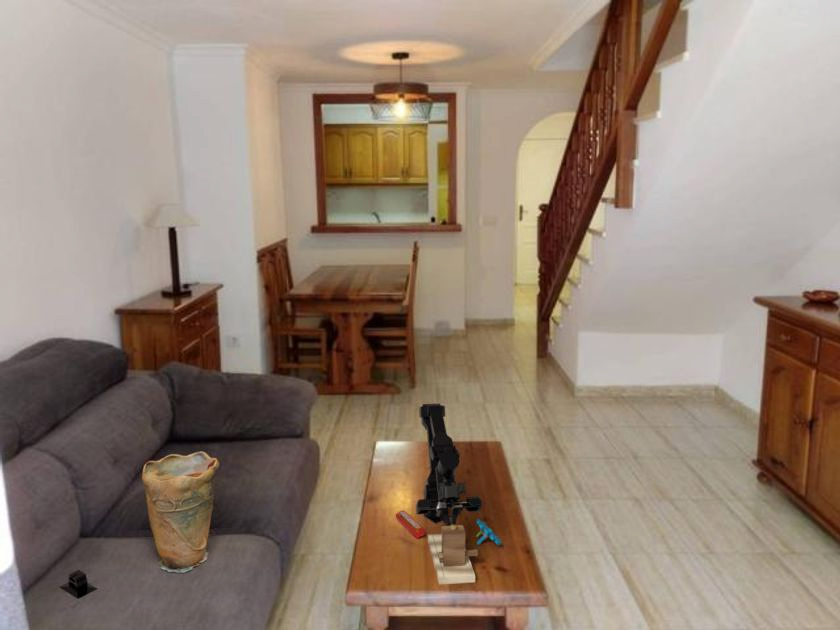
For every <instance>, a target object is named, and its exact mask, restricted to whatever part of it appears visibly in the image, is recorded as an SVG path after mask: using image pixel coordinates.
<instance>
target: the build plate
mask: <svg viewBox="0 0 840 630" xmlns="http://www.w3.org/2000/svg"><path fill="white" fill-rule="evenodd" d="M67 576H68V578H67V579H68V580H67V581H68V582H65V583H63V584H62V585H60V586H59V588H60V589H61V590H63V591H64V592H66V593H68V594H70V595H71V596H72V597H74V598H76V599H77V600H79V599H82V598H83V597H85V596H87V595H88V594H89V595H90V594H91V593H92V592H95V591H97V590H98V588H97V587H95V586H94V585H92V584H91V583H89V582H88V578H87V573H85V572H83V571H81V570H79V569H77V570H76V571H72V572H70V573H69V574H68V575H67Z"/></svg>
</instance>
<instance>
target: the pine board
mask: <svg viewBox="0 0 840 630" xmlns="http://www.w3.org/2000/svg"><path fill="white" fill-rule="evenodd" d="M427 543H428V547H429V550H430V555H431V558H432V563H433V566H434V570H435V573H436V578H437V581H438V584H439V586H440V585H451V584H453V585H454V584H455V585H456V584H468V583H476V574H475V570H474V569H473V564H472V562H471V560H470V556H466V557H465V565H455V566H443V562H442V561H441V563H440V562H439V559H440V558H439V552H442V533H437V534H436V533H435V534H427ZM465 550H467V549H466V547H465Z"/></svg>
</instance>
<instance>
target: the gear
mask: <svg viewBox="0 0 840 630" xmlns="http://www.w3.org/2000/svg"><path fill="white" fill-rule="evenodd" d="M476 525H478V526H479V530H480V531H478V533H477V534H476V535H475V537H477V538H479V536H481V535H483V536H481V537H480V538H479V540H478V541H476V544H477V545H478V546H480V545H481V543H483V542H484V540H486V539H488V538H489V539H490V540H491V541H493V542H494V543H495V544H496V545H497V546H501V545H502V544H503V543H502V541H501V539H500V538H499V537H498V536H497V535H496V534H495V533H494V531H493V530H492V529H491V528H489V526H488V525H487V523H485V522H483V520H480V519H479V518H478V519H476Z"/></svg>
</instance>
